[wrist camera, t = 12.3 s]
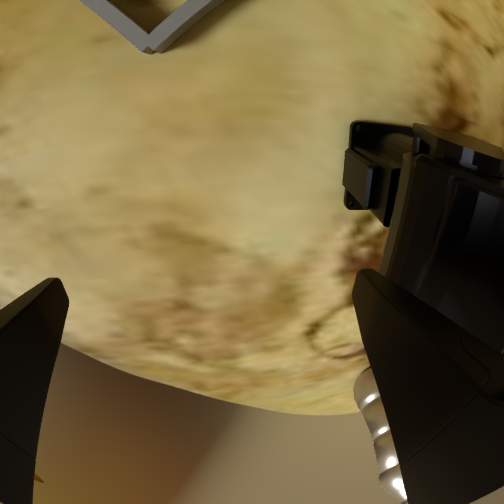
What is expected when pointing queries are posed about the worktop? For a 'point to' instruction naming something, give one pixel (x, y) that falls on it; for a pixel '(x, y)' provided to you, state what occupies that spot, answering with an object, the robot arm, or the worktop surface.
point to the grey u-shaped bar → (163, 34)
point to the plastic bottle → (379, 435)
